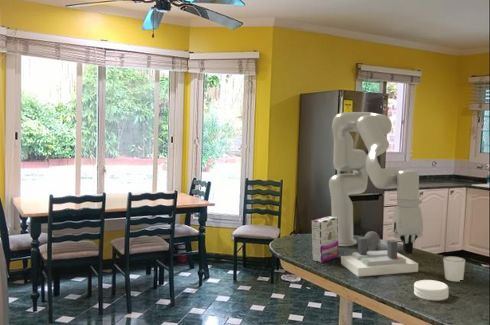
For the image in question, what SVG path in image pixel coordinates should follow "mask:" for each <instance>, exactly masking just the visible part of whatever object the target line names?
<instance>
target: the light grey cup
mask: <svg viewBox="0 0 490 325" xmlns="http://www.w3.org/2000/svg"><path fill="white" fill-rule="evenodd" d="M465 265H466V259H465V258H463V257H459V256H452V255H451V256H444V257H443V268H444V278H445V280H446V281H447V280H448V281H449V282H450V281H451V282H461V281H460V280H464V273H465Z"/></svg>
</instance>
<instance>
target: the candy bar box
mask: <svg viewBox="0 0 490 325" xmlns="http://www.w3.org/2000/svg"><path fill="white" fill-rule="evenodd" d="M310 222H311V244H312V245H311V247H312V248H311V249H312V252H311V253H312V261H313V260H314V261H313V262H317V261H318V263H324V262H327V261H331V260H333V259H336V258H339V256H340V255H339V246H338V218H337V217H332V215H331V216H324V217H321V218H317V219H314V220H311V221H310Z"/></svg>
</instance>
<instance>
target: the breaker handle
mask: <svg viewBox="0 0 490 325" xmlns="http://www.w3.org/2000/svg"><path fill="white" fill-rule="evenodd" d="M386 247H387V249H386V250H387V256H388V257H389V258H397V253H398V240H397V241H396V240H394V239H388V240H387V246H386Z"/></svg>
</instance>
